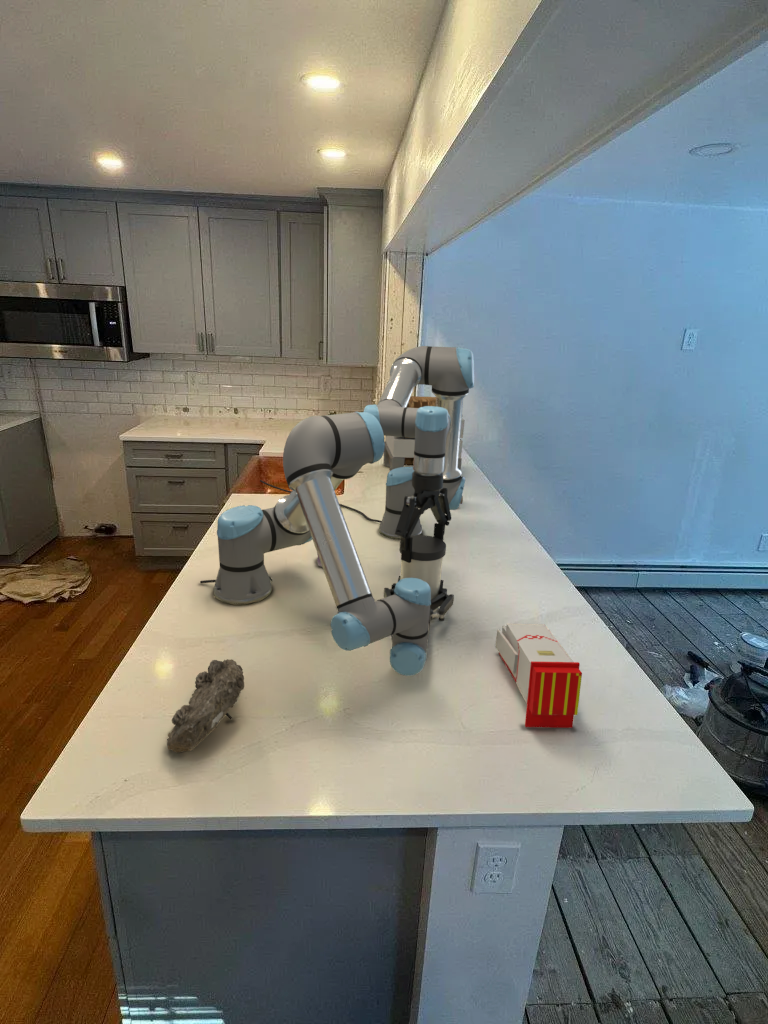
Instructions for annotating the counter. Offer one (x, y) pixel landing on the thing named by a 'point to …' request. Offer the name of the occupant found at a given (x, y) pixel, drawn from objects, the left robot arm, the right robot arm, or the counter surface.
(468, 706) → the counter surface
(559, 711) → the toy
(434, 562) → the jar
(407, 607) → the left robot arm
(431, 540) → the lid
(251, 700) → the counter surface
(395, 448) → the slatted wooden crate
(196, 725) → the fossil
